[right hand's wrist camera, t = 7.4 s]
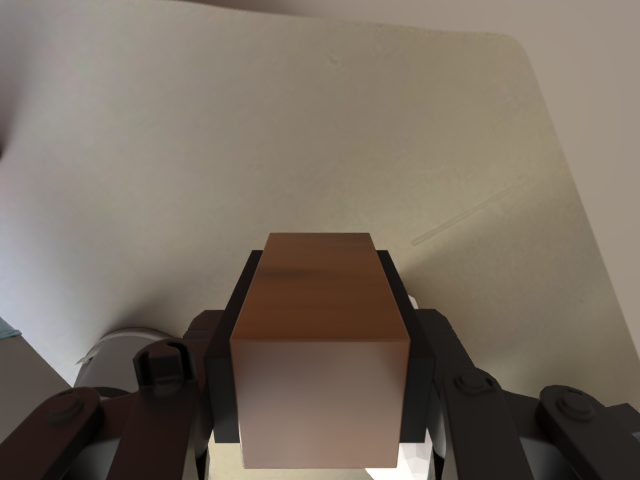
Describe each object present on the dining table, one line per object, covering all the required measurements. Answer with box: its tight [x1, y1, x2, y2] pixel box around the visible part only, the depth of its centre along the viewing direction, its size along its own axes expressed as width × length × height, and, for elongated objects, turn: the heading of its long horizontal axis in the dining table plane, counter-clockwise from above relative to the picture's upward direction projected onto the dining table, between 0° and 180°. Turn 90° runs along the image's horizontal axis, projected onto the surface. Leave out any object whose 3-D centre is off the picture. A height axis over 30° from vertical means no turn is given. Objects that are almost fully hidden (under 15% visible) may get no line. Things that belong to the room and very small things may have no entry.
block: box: [229, 233, 411, 469], centre depth 12 cm, size 4×4×7 cm
